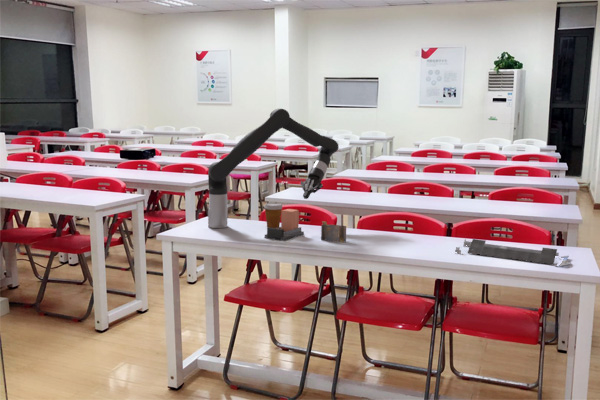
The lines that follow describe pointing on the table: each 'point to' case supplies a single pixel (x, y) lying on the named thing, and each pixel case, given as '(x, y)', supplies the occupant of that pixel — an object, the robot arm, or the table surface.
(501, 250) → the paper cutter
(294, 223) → the salmon pink block
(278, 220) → the disposable coffee cup
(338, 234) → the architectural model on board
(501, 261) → the table surface
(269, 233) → the rail base
